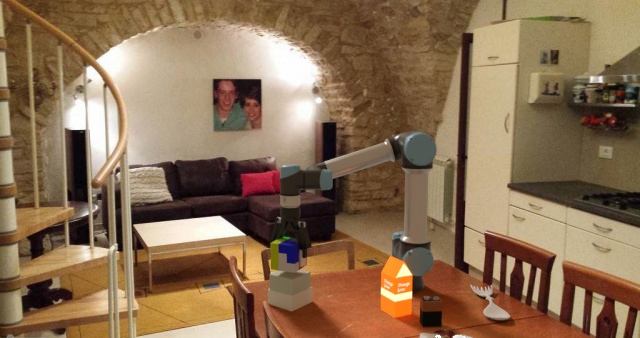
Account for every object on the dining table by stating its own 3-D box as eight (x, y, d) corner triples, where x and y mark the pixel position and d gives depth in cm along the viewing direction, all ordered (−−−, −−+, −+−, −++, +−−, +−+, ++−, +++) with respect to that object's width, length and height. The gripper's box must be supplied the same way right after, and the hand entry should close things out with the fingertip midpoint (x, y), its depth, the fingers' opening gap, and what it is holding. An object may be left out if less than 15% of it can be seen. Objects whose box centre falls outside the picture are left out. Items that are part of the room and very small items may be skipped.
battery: (419, 322, 189) (419, 294, 188) (438, 321, 190) (439, 294, 188) (422, 327, 185) (423, 299, 183) (442, 327, 185) (443, 299, 184)
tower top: (310, 287, 207) (310, 271, 206) (292, 295, 198) (292, 279, 197) (287, 281, 213) (287, 266, 213) (269, 289, 204) (269, 274, 204)
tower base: (312, 302, 208) (312, 287, 207) (291, 312, 198) (291, 296, 198) (288, 295, 215) (288, 280, 214) (267, 304, 206) (267, 289, 205)
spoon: (492, 291, 219) (492, 283, 218) (513, 325, 187) (514, 315, 187) (469, 291, 220) (469, 283, 219) (486, 324, 188) (487, 314, 188)
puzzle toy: (294, 272, 197) (294, 246, 196) (270, 269, 201) (270, 243, 200) (306, 265, 206) (306, 239, 205) (283, 261, 210) (283, 236, 209)
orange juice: (394, 318, 193) (395, 263, 190) (380, 309, 200) (381, 256, 198) (412, 314, 196) (413, 260, 193) (397, 305, 204) (398, 253, 201)
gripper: (260, 203, 206) (261, 259, 209) (308, 211, 192) (308, 271, 195) (273, 200, 212) (274, 255, 215) (321, 208, 198) (321, 266, 201)
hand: (290, 263), depth 205 cm, fingers closed on puzzle toy, 11 cm apart
